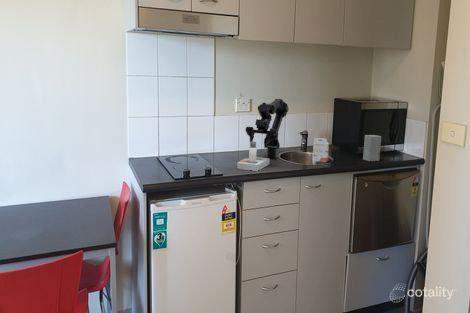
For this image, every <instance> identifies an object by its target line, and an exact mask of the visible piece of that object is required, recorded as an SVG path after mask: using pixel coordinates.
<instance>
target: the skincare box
mask: <svg viewBox="0 0 470 313" xmlns="http://www.w3.org/2000/svg"><path fill="white" fill-rule="evenodd" d="M363 144H364V145H363V153H362V156H363V157H362V160H364V161H367V162H370V161H371V162H379V161H380V157H381V146H382V145H381V144H382V135H375V134H369V135H368V134H365V135H364V142H363Z"/></svg>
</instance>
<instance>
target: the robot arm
mask: <svg viewBox="0 0 470 313" xmlns="http://www.w3.org/2000/svg"><path fill="white" fill-rule="evenodd" d="M257 111H258V114H259V117H261V118H260V119H256V120H255V124H254V125H255V126H256V129H255V128H254V127H253V126H246V127H245V128H244V129H245V133H246V135H247V136H248V137H249V143H250V142H251V141H254V138H255V136H254V135H255V134H261V135H265V137H264V139H263V146H264V147H263V148H265V149H266V150H267V151H266V157H265V158H270V159H274V160H276V159H277V158H278V156H277V150H279V149H280V147H281V146H280V145H281V144H280V142H279V131H280V127H281V125H282V121H283V118H285V117H286V116H287V114H288V113H289V105H288V103H286V102H285V101H284V99H282V98H275V99H274V100H273V101H271V102H270V103H267V102H262V103H261V104H260V105H258V106H257ZM272 115H275V117H274V120H273V122H272V126H271V128H270V125H271V121H272Z"/></svg>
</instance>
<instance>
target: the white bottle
mask: <svg viewBox="0 0 470 313" xmlns="http://www.w3.org/2000/svg"><path fill="white" fill-rule="evenodd" d="M248 149H249V151H248V152H249V153H248V157H249V163H254V164H256V157H257V141H254V140H253V141H251V142H250V141H249V147H248Z"/></svg>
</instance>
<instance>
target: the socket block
mask: <svg viewBox="0 0 470 313" xmlns="http://www.w3.org/2000/svg"><path fill="white" fill-rule="evenodd" d="M270 159H271V158H266V157H261V156H256V164H254V163H249V156H247V157H246V158H243V159H241V160H240V161H238V162H237V163H236V169H237V170H245V171H250V170H252V171H251V172H259V171H260V170H262V169H263V168H265V167H268V166H269V165H270ZM258 170H259V171H258Z"/></svg>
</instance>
